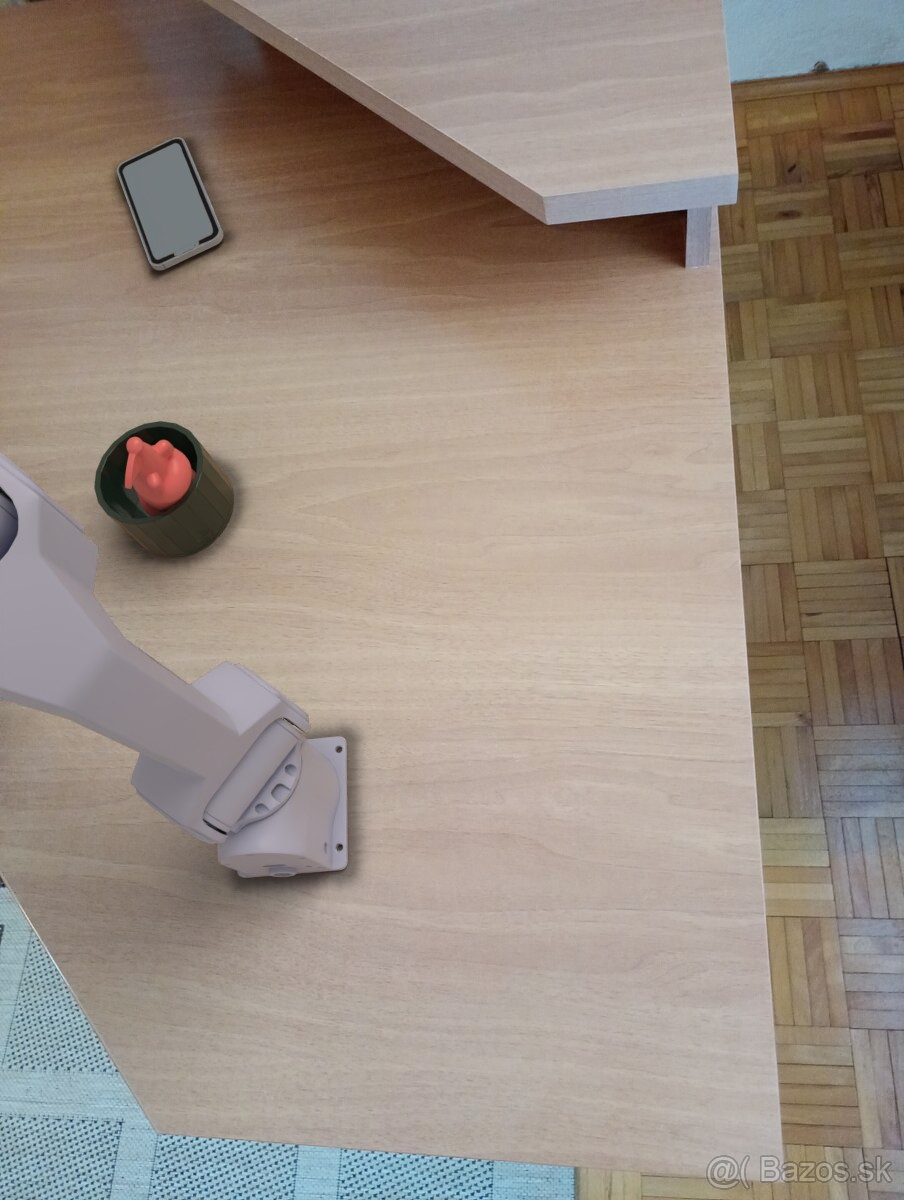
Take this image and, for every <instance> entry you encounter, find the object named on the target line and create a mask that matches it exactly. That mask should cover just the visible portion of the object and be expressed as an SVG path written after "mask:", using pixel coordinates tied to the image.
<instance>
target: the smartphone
mask: <svg viewBox="0 0 904 1200" xmlns="http://www.w3.org/2000/svg"><path fill="white" fill-rule="evenodd" d="M197 168H198V167H197V166H196V164H195V162H194V159H193V155H192V154H191V152H190V149H189V147H188V144H187V143H186V141H185V139H183V137H179V136H177V137H172V138H170V139H168V140H165V141H163V142H162V143H160V144H158V145H155V146H153V147H151V148H149V149H147V150H145V151H143V152H140V153H139V154H136V155H134V156H132V157H130V158H128V159H126V160H124V161H123V162H121V163H120V164H119V165H118V166H117V168H116V174H117V177H118V180H119V182H120V185H121V188H122V191H123V193H124V196H125V199H126V201H127V205H128V207H129V210H130V213H131V215H132V219H133V221H134V224H135V227H136V230H137V232H138V235H139V238H140V241H141V244H142V246H143V249H144V252H145V254H146V257H147V260H148V263H149V265H150V266H151V267H152V269H153V270H154V271H155V270H156V271H165V270H167V269H169V268H171V267H173V266H175V265H177V264H179V263H181V262H183V261H186V260H188V259H190V258H191V257H194V256H196V255H198V254H201V253H203V252H205V251H206V250H209V249H211V248H213V247H215V246H218V245H219V244H220V243H221V242H222V241H223V239H224V231H223V229H222V226H221V224H220V222H219V219H218V217H217V213H216V212H215V209H214V206H213V204H212V202H211V200H210V196H209V195H208V193H207V190H206V187H205V185H204V183H203V181H202V178H201V176H200V173H199V171H198V169H197Z"/></svg>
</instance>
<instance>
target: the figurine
mask: <svg viewBox="0 0 904 1200" xmlns="http://www.w3.org/2000/svg"><path fill="white" fill-rule="evenodd" d="M126 446H127V450H128V452H129V456H128V461H127V467H126V474H125V488H128V489H131V488H132V485H133V487H134V489H135V491H136V492H137V494H138V497H139V501H140V504H141V506H142V507H143V509H144V510H145V511H146V512H147V513H148V514H149V515H150V516H151V517H153V516H155V515H158V514H160V513H162V512H164V511H167V510H168V509H170V508H171V507H172V506H173V505H175V504H176V503H177V502H178V501H180V500H181V499H182V498H183V496H184V495H185V494H186V492H187V491H188V490H189V488H190V487H191V485H192V482H193V480H194V477H195V475H196V473H195V471H194V470H193V469H191V465H190V462H189V460H188V459H187V457H186V456H185V455H184V454H183V453H182V452H180V451H179V450H177V449H175V448H174V447H173V446H172V444H171V443H170V442H168V441H167V440H161V441H159V442H158V443H156V444H155V445H152V446H151V445H149V444H147V443H145V442H143V441H142V440H141V439H140V438H138V437H132V438H130V439H129V440H128V441H127V445H126Z"/></svg>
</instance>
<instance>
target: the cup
mask: <svg viewBox="0 0 904 1200" xmlns="http://www.w3.org/2000/svg"><path fill="white" fill-rule="evenodd" d="M132 437H138V438H140V439H141V440H142V441H143V442H145V443H147V444H149V445H151V446H152V445H155V444H156V443H158V442H159V441H161V440H167V441H168V442H170V443H171V444H172V446H173V447H174V448H175V449H177V450H179V451H180V452H182V453H183V454H184V455H185V456H186V457H187V459H188V460H189V462H190V465H191V469H193V470H194V471H195V473H196V475H195V477H194V480H193V482H192V485H191V487H190V488H189V490H188V491H187V492H186V494H185V495H184V496H183V498H182V499H181V500H180V501H178V502H177V503H176V504H175V505H173V506H172V507H171V508H170V509H168V510H167V511H164V512H162V513H160V514H158V515H155V516H153V517H151V516H150V515H149V514H148V513H147V512H146V511H145V510H144V509H143V507H142V506H141V504H140V501H139V497H138V494H137V492H136V491H135V489H134V487H133V485H132V488H131V489H128V488H125V474H126V467H127V461H128V456H129V452H128V450H127V446H126V445H127V441H128V440H129V439H130V438H132ZM93 487H94V493H95V497H96V500H97V503H98V505H99V506H100V508H101V509H102V510H103V512H104V513H105V514H106V515H107V516H108V517H109V518H110V519H111V520H112V521H114V522H115V524H116V525H118V526H119V527H120V528H121V529H122V530H123V531H124V532H125V533H127V534H128V535H129V536H130V537H132V539H133V540H134V541H136V542H137V544H139V545H140V546H141V547H143V548H144V549H145V550H146V551H148V552H150V553H152V554H153V555H156V556H158V557H162V558H169V559H178V558H184V557H188V556H191V555H194V554H196V553H199V552H201V551H202V550H204V549H206V548H207V547H209V546H210V545H211V544H212V543H214V542H215V541H216V540H217V539H219V537H220V536H221V535H222V533H223V532H224V530H225V529H226V528H227V526H228V524H229V522H230V520H231V517H232V515H233V510H234V505H235V492H234V488H233V485H232V482H231V481H230V479H229V477H228V475H227V474H226V472H224V471H223V469H222V467H221V466H220V465H219V464H218V463H217V461H216V460H214V458H213V457H212V456H211V454H210V452H209V451H208V450H207V449H206V448H205V447H204V446H203V444H202V443H201V442H200V440H199V439H198V438H197V437H196V436H195V435H194V433H193V432H192V431H191V430H189V429H188V428H186V427H185V426H182V425H180V424H178V423H176V422H169V421H162V420H159V421H152V422H147V423H145V422H144V423H142V424H140V425H138V426H135V427H133V428H131V429H129V430H127V431H126V432H124V433H123V434H122V435H120V436H119V437H118V438H117V439H116V440H114V441H113V442H112V443H111V444H110V445H109V447H108V448H107V450H106V451H105V452H104V453H103V455H102V457H101V458H100V461H99V463H98V465H97V468H96V470H95V476H94V486H93Z"/></svg>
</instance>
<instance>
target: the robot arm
mask: <svg viewBox="0 0 904 1200" xmlns="http://www.w3.org/2000/svg"><path fill="white" fill-rule="evenodd" d="M85 530H86V529H85V526H84V525H83V524H82V523H80V521H78V520H77V519H76V518H75V517H74V516H73V515H72V514H70V513H69V512H68V510H66V509H65V508H64V507H63V506H62V505H61V504H59V502H57V501H55V499H54V498H52V496H51V495H49V494H48V493H47V492H46V491H45V489H44V488H43V487H42V486H41V485H40V484H39V483H38V482H37V481H36V480H34V479H33V478H32V477H31V476H30V475H29V474H27V473H26V472H25V471H24V470H23V469H22V468H20V467H19V466H18V465H17V464H16V463H14V461H12V460H11V459H10V458H8V457H7V456H6V455H4V454H3V453H2V452H1V451H0V703H2V702H9V703H12V704H15V705H19V706H22V707H24V708H25V707H26V708H29V709H33V710H35V711H40V712H43V713H46V714H49V715H53V716H55V717H59V718H62V719H66V720H68V721H71V722H73V723H75V724H77V725H80V726H81V727H84V728H85V729H88V730H90V731H92V732H94V733H96V734H99V735H100V736H103V737H105V738H106V739H107V738H108V739H109V740H111V741H114V742H116V743H118V744H120V745H122V746H124V747H127V748H129V749H130V750H133V751H134V752H137V753H139V755H138V757H137V760H136V762H135V765H134V768H133V771H132V774H131V777H130V785H131V786H132V787H133V788H134V789H135V793H136V795H137V796H139V798H141V799H142V800H143V801H144V802H145V803H146V804H147V805H149V806H150V807H151V808H153V809H154V810H155V811H156V812H157V813H159V814H160V815H161V816H162V817H164V818H165V819H167V820H168V821H170V822H171V823H172V824H173V825H175V826H177V827H179V828H180V829H182V831H184V832H186V833H187V834H189V835H191V836H192V837H194V838H196V839H197V840H199V841H201V842H202V843H205V844H208V845H213V844H216V845H217V849H216V850H217V851H216V852H217V853H216V854H217V861H218V863H219V864H220V865H221V866H224V867H227V868H229V869H232V870H234V871H237V875H238V877H240V878H243V879H246V878H247V879H249V878H260V877H261V878H262V877H273V878H274V877H275V878H286V877H293V876H296V875H298V874H309V873H321V872H322V873H323V872H333V871H343V870H345V869H346V868H347V866H348V863H349V853H348V852H349V847H348V845H349V843H348V839H349V837H348V742H347V739H346V738H345V737H344V736H341V735H337V736H336V735H335V736H326V737H316V738H307V737H306V736H304V735H303V733H304V734H307V733H308V732H309V730H310V729H311V728H312V725H311V723H310V717H309V714H308V713H307V711H305V710H304V709H303V708H301V707H300V706H299V705H298V704H297V703H295V702H294V701H293V700H291V699H290V697H287V696H286V695H285V694H284V693H282V692H281V691H279V690H278V689H277V688H276V687H274V686H273V685H272V684H270V683H269V682H268V681H266V680H265V679H264V678H262V677H261V676H259V674H256V673H255V672H254V671H252V669H249V668H248V667H246V666H244V665H242V664H240V663H234V664H233V663H232V662H230V661H229V660H225V661H223V662H221V663H219V664H218V665H217V666H215V667H213V668H211V670H209V671H207V672H206V673H205V674H202V676H200V677H199V678H197V679H195V680H193V682H191V683H189V682H187V681H186V680H184V679H183V678H182V677H180V676H179V675H177V674H176V673H175V672H173V671H172V670H171V669H169V668H168V667H167V666H165V665H163V664H162V663H161V662H159V661H158V660H157V659H155V658H154V657H152V656H151V655H150V654H148V653H147V652H145V651H144V650H143V649H141V648H140V647H138V646H137V645H135V644H134V643H133V642H132V641H130V640H129V639H127V638H126V636H125V635H124V633H122V631H121V630H120V628H119V627H118V626H117V625H116V623H115V621H113V619H112V618H111V616H110V615H109V614H108V612H107V611H106V610H105V608H104V606H103V605H102V603H100V601H99V600H98V598H97V597H96V595H95V586H96V585H95V584H96V577H97V570H98V569H97V568H98V560H99V551H100V549H99V547H98V545H96V543H94V542H93V541H92V540H91V539H90V538H88V536H87V535H85V534H86V531H85ZM299 730H300V731H299ZM301 731H302V732H303V733H302V732H301ZM339 748H341V751H340V752H338V749H339ZM340 845H342V849H341V850H338V847H339V846H340Z"/></svg>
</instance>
